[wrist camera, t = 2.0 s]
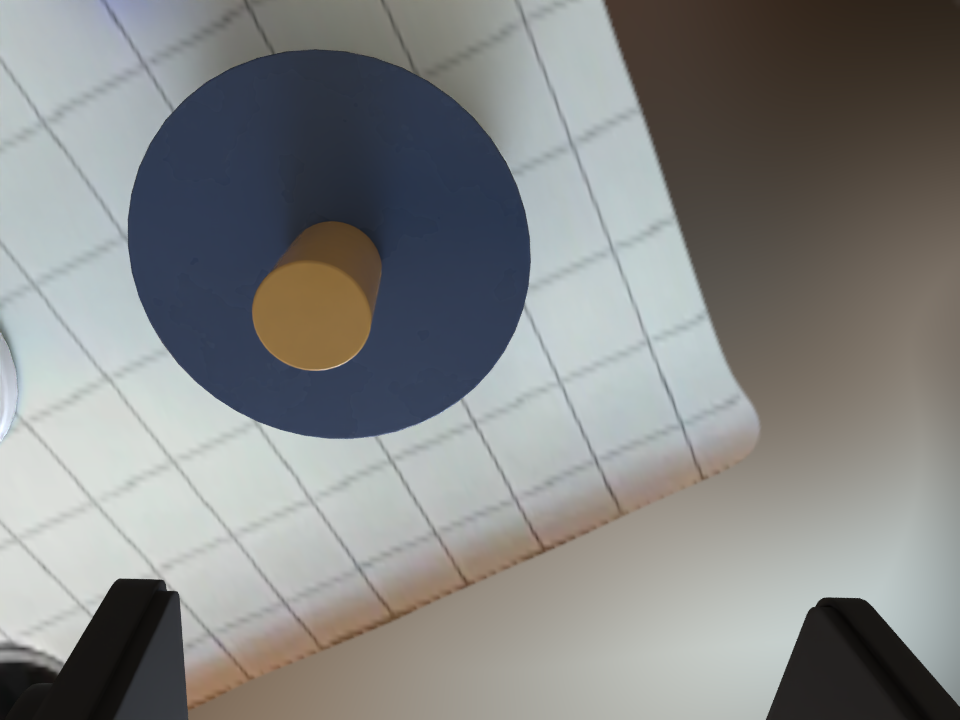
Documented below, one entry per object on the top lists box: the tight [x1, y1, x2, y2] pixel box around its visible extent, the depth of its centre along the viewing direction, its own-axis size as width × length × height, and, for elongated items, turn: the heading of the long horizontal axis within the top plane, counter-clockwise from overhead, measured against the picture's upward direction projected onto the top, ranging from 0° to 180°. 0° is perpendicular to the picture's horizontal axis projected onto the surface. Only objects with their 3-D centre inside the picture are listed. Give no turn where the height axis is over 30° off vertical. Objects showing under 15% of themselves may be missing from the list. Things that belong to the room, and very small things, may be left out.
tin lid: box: [128, 49, 531, 439], centre depth 20 cm, size 13×13×6 cm
